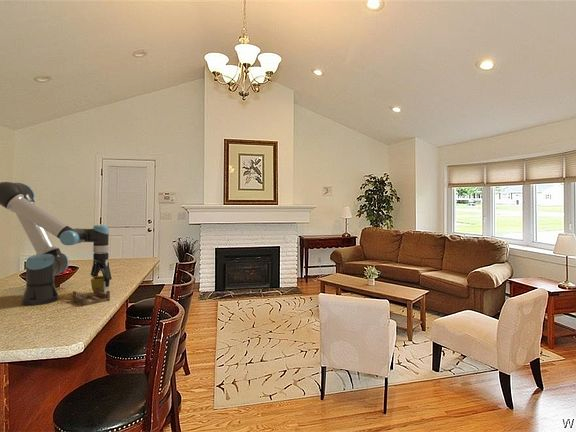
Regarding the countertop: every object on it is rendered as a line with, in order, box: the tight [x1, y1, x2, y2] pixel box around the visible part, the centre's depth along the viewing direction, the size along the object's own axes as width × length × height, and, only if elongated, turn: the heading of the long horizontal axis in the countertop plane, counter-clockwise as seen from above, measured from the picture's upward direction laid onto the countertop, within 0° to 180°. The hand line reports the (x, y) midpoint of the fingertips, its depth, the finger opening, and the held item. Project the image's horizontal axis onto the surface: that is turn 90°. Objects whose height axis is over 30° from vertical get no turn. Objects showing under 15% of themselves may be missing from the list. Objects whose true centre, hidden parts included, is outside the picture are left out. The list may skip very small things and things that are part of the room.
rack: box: [72, 287, 111, 307], centre depth 179 cm, size 13×13×5 cm
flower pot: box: [90, 275, 111, 295], centre depth 194 cm, size 9×9×9 cm
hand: (100, 290), depth 194 cm, fingers open, 13 cm apart
